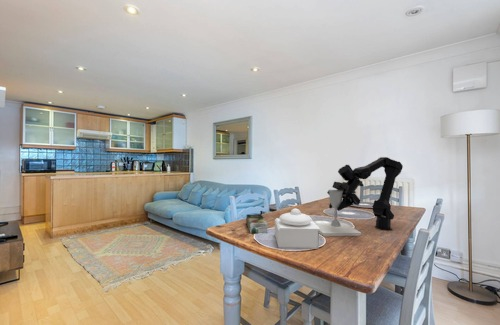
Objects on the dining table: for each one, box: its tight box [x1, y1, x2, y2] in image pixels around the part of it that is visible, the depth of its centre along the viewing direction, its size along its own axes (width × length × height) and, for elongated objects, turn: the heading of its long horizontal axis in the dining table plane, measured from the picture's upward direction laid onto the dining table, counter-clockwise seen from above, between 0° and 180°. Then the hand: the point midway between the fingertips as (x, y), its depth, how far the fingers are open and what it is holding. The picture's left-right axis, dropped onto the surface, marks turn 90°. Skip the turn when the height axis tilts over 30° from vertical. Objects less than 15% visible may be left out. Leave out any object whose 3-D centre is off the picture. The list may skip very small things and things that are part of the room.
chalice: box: [327, 189, 343, 227], centre depth 119 cm, size 7×7×18 cm
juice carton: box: [245, 213, 268, 234], centre depth 129 cm, size 20×10×6 cm, turn 8°
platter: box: [314, 222, 362, 237], centre depth 126 cm, size 20×18×2 cm
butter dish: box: [274, 208, 320, 250], centre depth 108 cm, size 18×18×16 cm
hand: (333, 209), depth 119 cm, fingers closed on chalice, 6 cm apart
